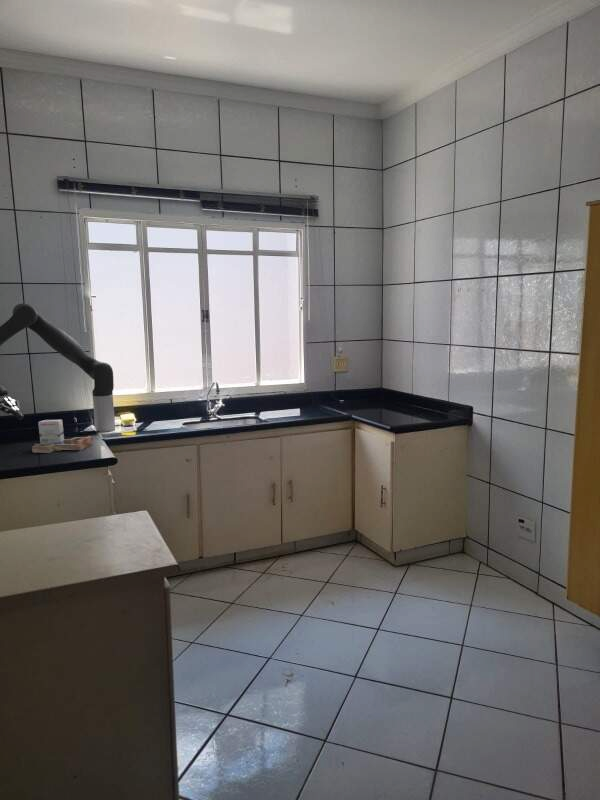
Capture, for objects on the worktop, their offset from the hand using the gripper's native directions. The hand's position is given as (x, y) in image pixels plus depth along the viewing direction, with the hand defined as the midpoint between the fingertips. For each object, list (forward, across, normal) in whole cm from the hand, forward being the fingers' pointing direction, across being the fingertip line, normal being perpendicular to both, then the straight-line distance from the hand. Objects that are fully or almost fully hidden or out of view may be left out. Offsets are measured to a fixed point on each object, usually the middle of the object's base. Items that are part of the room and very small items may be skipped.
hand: (21, 418), depth 242 cm
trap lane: (+21, 0, -4) cm, 22 cm away
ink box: (+18, 0, 0) cm, 18 cm away
